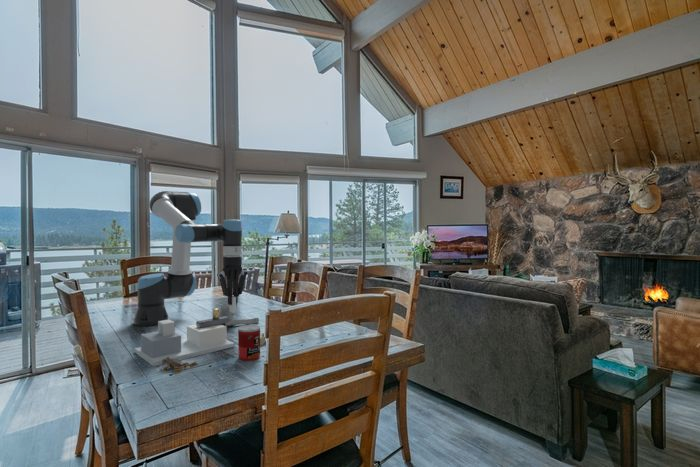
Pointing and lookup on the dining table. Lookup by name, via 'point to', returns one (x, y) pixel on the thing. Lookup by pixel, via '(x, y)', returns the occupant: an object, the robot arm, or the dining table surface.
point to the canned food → (249, 342)
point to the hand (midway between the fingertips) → (232, 311)
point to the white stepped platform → (181, 342)
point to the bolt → (213, 320)
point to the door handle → (226, 312)
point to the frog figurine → (177, 365)
